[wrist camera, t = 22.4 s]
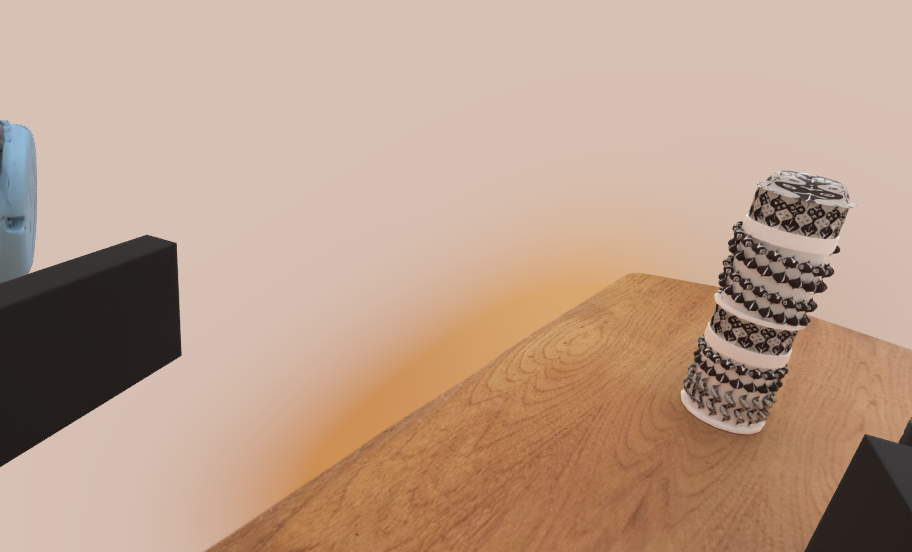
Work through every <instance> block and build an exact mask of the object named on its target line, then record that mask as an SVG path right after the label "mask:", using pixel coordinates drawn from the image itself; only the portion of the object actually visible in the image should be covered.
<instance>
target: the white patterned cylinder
mask: <svg viewBox="0 0 912 552" xmlns="http://www.w3.org/2000/svg"><path fill="white" fill-rule="evenodd" d="M756 184H757V185H758V188H757V191H756V193H755V196H754V199H753V202H752V205H751V208H750V211H749V213H748V214H746V216H745V219H744V222H738V223H737V224H736V225H734V226H733V231H734V238H733V239H731V240H729V242H728V244H729V251H730V252H731V253H733V254H732V255H729V256H728V258H727V259H725V260H724V261H723V265H724V272H723V273H721V274H719V279H720V280H719V282H718V283H719V285H720V286H721V287H720V288H719V291H718V292H716V293H715V295H714V297H715V301H716V303H717V304H716V307H715V310H714V313H713V316H712V319H711V321H710V322H709V323H708V325H707V327H706V330H705V333H704V335H703V337H700V338H699V339H698V342H699V344H698V347H699V350H696V351H695V352H694V355H695V357H694V361H695V362H694V363H692V364H690V365H689V367H688V376H687V377H686V378H685V379H684V389H683V390H682V391H681V402H682V403H683V404H684V406H685V407H686V408H687V410H688V411H689V412H691V413H692V414H693V415H695V416H696V417H697V418H699V419H700V420H702V421H704V422H706V423H708V424H710V425H712V426H714V427H716V428H718V429H722V430H725V431H728V432H732V433H738V434H753V433H757V432H760V431H761V430H762V428H763V426H764V425H765V420H766V419H767V418H766V416H768V415H770V414H771V412H770V411H769V409H768V408H771V407H772V403H775V402H776V398H775V397H774V396H775V394H776V392H777V391H778V390H779V388H780V387H781V386H782V381H781V378H784V376H785V374H787V373H788V368H787V362H788V360H789V357H790V355H791V353H792V348H791V346H792V344H793V342H794V340H795V338H796V336H797V332H798V330H802V329H804V328H805V327H806V326H807V325H808V323H809V322H810V319H809V318H808V317H807V316H806V314H804V312H805V313H806V312H812V311H814V310H815V309H816V308H817V304H816V303H815V302H814V301H813V298H812V299H810V298H811V295H812V293H813V292H814V294H815V293H821V292H824V291H825V290H826V289H827V286H826V284H825V283H824V282H823V281H820V279H819V276H822V278H824V277H830V276H832V275H833V274H834V270H833V268H831V267H830V265H829V264H828V265H826V264H825V262H826V260H827V257H828V255H829V254H830V255H831V254H836V253H838V252H840V248H839V247H838V246H837V243H838V241H839V239H840V236H838V235H839V231H840V229H841V227H842V225H843V224H844V221H845V218H846V215H847V213H848V211H849V209H850V208H853V207H855V206H856V205H855V204H853V203H852V202H850V199H849V195H848V191H847V188H846V187H845V186H844V185H843V184H841V183H839V182H837V181H834V180H831V179H827V178H823V177H819V176H815V175H811V174H805V173H800V172H793V171H779V172H776V173H774V174H773V175H771V176H770V177H769V178H768V179H767V180H766V181H764V182H759V183H756ZM737 245H739V246H738V248H737ZM768 398H769V399H768ZM763 410H764V411H763Z"/></svg>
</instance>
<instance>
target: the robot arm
mask: <svg viewBox="0 0 912 552" xmlns="http://www.w3.org/2000/svg"><path fill="white" fill-rule="evenodd" d="M36 218H37V167H36V150H35V143H34V138H33V135H32V133H31V131H30V130H29V129H28V128H27V127H25V126H22V125H18V124H12V123H9V122H8V121H4V120H0V467H1V466H3V465H4V464H6V463H8V462H9V461H11V460H12V459H14V458H16V457H17V456H19V455H21V454H22V453H24V452H26V451H27V450H29V449H30V448H32V447H34V446H35V445H37V444H38V443H40V442H42V441H43V440H45V439H47V438H48V437H50V436H52V435H53V434H55V433H56V432H58V431H60V430H61V429H63V428H64V427H66V426H68V425H69V424H71V423H73V422H74V421H76V420H77V419H79V418H81V417H82V416H84V415H86V414H87V413H89V412H90V411H92V410H94V409H95V408H97V407H98V406H100V405H102V404H104V403H105V402H107V401H108V400H110V399H112V398H113V397H115V396H117V395H118V394H120V393H122V392H123V391H125V390H126V389H128V388H130V387H131V386H133V385H135V384H136V383H138V382H139V381H141V380H143V379H144V378H146V377H148V376H149V375H151V374H152V373H154V372H156V371H157V370H159V369H161V368H162V367H164V366H165V365H167V364H169V363H170V362H172V361H173V360H175V359H177V358H178V357H180V356H181V335H180V334H181V333H180V310H179V288H178V266H177V244H176V243H174V242H171V241H167V240H164V239H160V238H157V237H153V236H149V235H145V236H142V237H139V238H136V239H133V240H130V241H127V242H124V243H121V244H117V245H115V246H111V247H109V248H106V249H102V250H100V251H96V252H93V253H90V254H87V255H84V256H81V257H79V258H75V259H72V260H69V261H66V262H63V263H60V264H57V265H54V266H51V267H48V268H45V269H42V270H39V271H36V272H33V273H30V274H28V273H29V271H30V269H31V266H32V263H33V257H34V248H35V236H36ZM805 552H912V447H910V446H906V445H902V444H899V443H895V442H891V441H888V440H884V439H881V438H877V437H873V436H870V435H866V434H865V435H864V437H863V439H862V441H861V443H860V445H859V447H858V449H857V451H856V453H855V455H854V456H853V458H852V460H851V462H850V464H849V466H848V468H847V470H846V472H845V474H844V476H843V478H842V480H841V482H840V484H839V486H838V488H837V489H836V491H835V493H834V495H833V497H832V499H831V501H830V503H829V505H828V507H827V509H826V511H825V513H824V515H823V517H822V519H821V521H820V522H819V524H818V526H817V528H816V530H815V532H814V534H813V536H812V538H811V540H810V542H809V544H808V546H807V548H806V550H805Z"/></svg>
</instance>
